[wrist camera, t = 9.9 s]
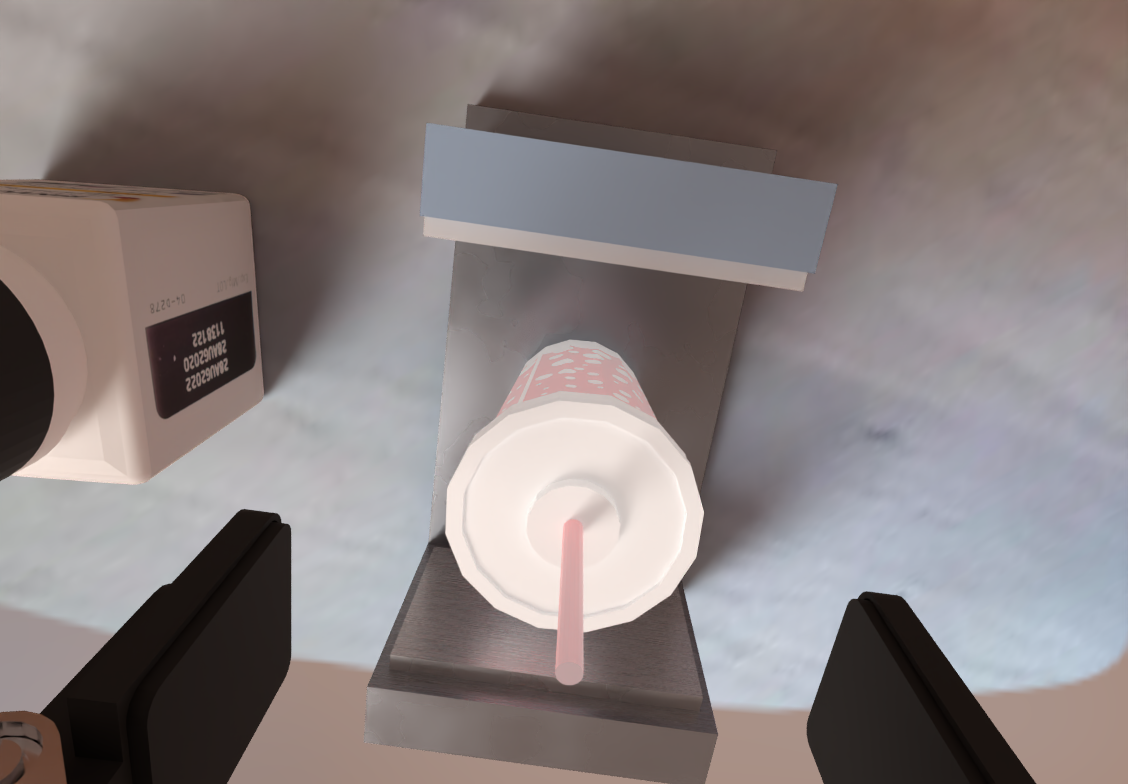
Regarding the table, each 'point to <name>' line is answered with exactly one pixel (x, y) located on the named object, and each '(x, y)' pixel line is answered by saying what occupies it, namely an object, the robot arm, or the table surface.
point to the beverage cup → (574, 501)
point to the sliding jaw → (622, 207)
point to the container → (122, 326)
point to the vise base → (472, 400)
